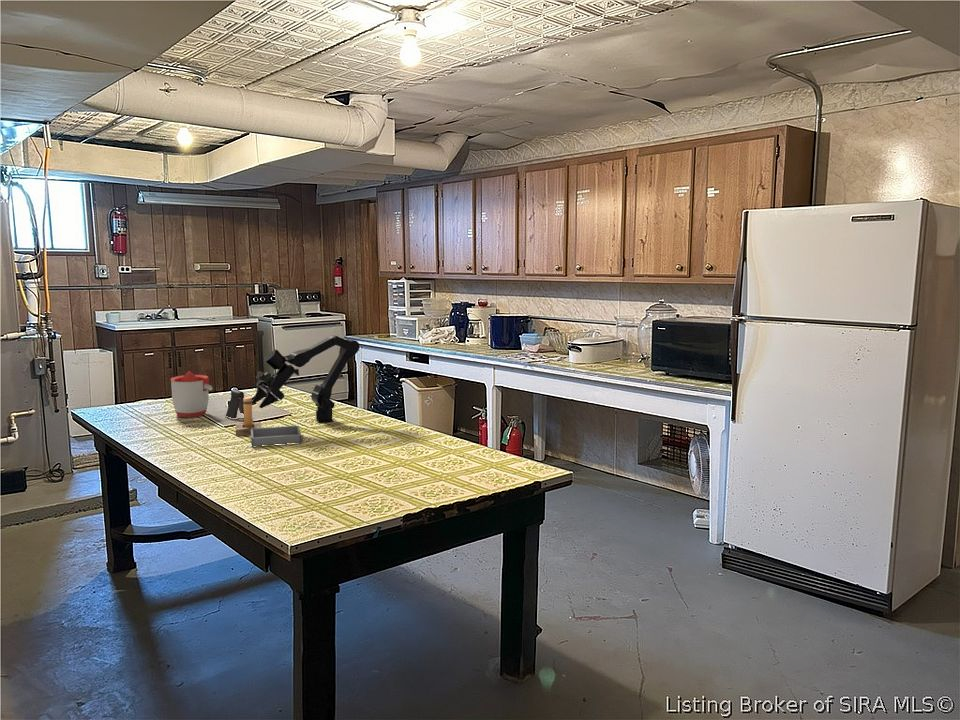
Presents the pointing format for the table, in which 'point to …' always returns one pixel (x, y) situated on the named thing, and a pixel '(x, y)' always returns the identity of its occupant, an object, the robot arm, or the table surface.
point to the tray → (275, 435)
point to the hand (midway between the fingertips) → (256, 405)
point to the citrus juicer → (190, 394)
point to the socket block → (246, 428)
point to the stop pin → (247, 412)
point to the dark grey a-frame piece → (235, 404)
